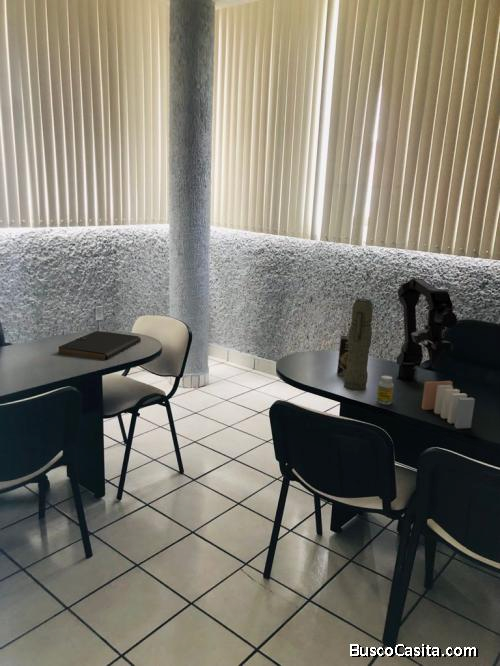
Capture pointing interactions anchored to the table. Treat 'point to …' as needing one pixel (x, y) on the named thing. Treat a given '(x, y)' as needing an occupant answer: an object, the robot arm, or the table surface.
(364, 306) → the thermos
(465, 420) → the domino
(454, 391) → the domino
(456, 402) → the domino
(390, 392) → the supplement bottle
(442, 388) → the domino
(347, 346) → the coffee box
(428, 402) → the domino
